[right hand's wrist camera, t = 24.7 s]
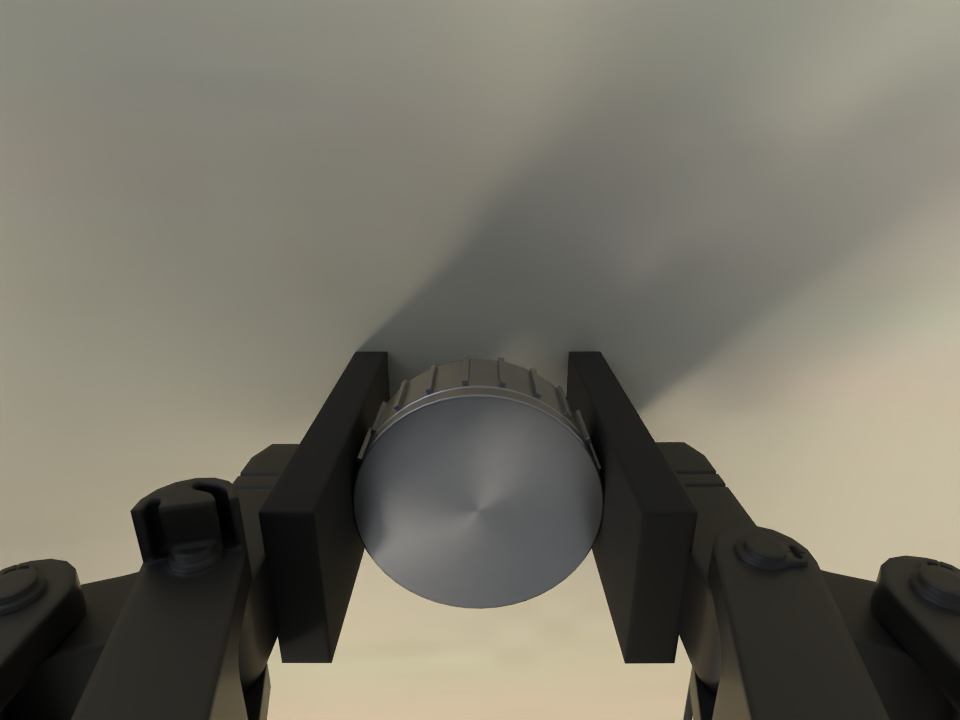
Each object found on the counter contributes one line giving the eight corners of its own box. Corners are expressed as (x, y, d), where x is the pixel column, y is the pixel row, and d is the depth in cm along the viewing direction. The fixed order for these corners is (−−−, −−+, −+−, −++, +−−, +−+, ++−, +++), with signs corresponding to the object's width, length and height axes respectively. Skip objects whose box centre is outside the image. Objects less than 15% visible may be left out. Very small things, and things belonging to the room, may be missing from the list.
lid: (320, 464, 12) (294, 514, 10) (474, 305, 11) (472, 335, 9) (482, 587, 13) (482, 650, 11) (638, 456, 12) (663, 506, 10)
